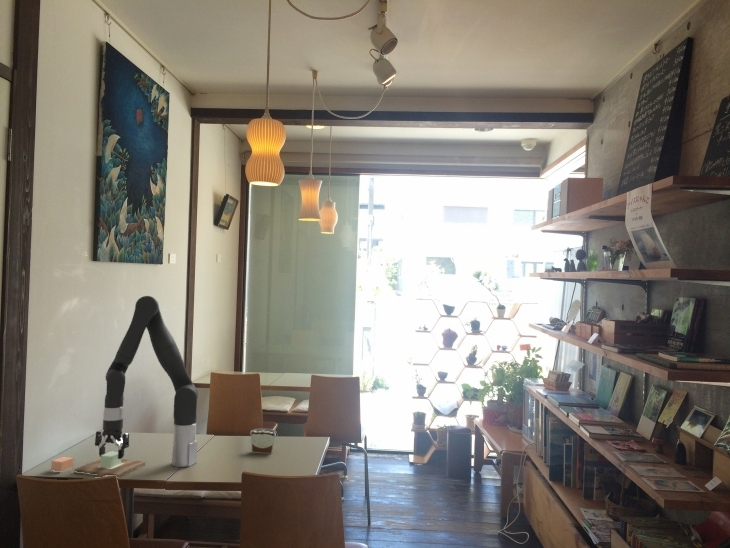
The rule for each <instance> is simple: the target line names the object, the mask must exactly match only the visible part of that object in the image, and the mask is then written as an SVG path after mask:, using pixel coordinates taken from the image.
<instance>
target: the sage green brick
mask: <svg viewBox="0 0 730 548" xmlns="http://www.w3.org/2000/svg"><path fill="white" fill-rule="evenodd" d="M100 458H101V463H100V467H107V468H112V467H114V466H117V465H119V464H121V459H122V458H121V459H118V451H111V450H110V451H109V452H105V454H103V455H101V457H100Z"/></svg>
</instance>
